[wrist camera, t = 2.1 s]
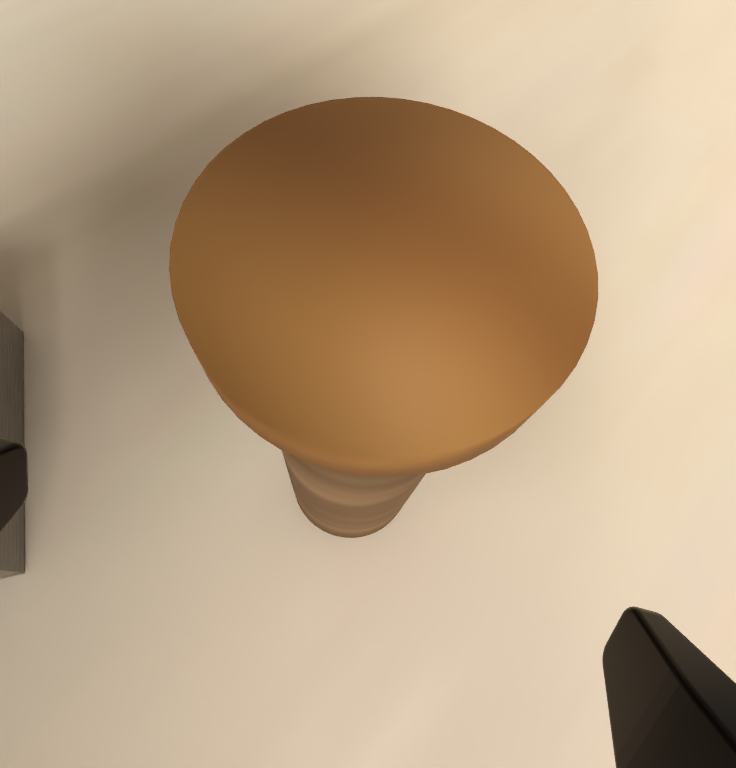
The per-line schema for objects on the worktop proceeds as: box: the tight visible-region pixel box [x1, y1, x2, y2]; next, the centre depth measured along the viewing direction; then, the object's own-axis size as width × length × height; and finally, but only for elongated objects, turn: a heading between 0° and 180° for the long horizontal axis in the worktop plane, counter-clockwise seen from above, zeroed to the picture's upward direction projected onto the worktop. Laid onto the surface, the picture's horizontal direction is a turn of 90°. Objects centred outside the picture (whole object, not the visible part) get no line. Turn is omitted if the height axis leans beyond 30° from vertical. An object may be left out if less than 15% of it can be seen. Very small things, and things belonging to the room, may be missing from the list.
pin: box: [169, 97, 598, 538], centre depth 13 cm, size 5×5×13 cm
